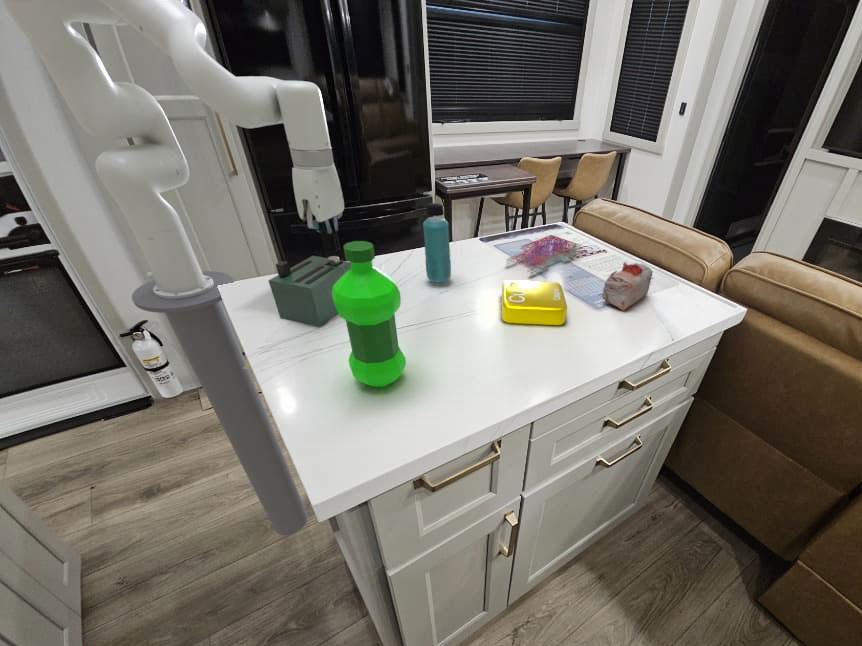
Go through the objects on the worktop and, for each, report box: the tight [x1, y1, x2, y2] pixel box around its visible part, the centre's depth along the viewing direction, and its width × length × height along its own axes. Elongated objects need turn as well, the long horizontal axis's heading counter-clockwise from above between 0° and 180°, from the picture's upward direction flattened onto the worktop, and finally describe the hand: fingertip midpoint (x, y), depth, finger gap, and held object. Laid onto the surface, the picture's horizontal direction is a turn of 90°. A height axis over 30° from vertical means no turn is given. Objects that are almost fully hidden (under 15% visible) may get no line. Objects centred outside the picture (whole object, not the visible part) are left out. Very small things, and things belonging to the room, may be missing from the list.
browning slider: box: [275, 260, 291, 277], centre depth 88 cm, size 2×2×2 cm
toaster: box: [268, 255, 351, 327], centre depth 94 cm, size 10×15×9 cm, turn 166°
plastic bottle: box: [331, 240, 407, 388], centre depth 70 cm, size 10×10×25 cm
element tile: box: [501, 279, 568, 326], centre depth 101 cm, size 15×15×5 cm
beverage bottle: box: [422, 202, 452, 283], centre depth 105 cm, size 6×7×20 cm
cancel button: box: [327, 255, 340, 267], centre depth 95 cm, size 2×2×2 cm
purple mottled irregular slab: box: [505, 234, 583, 278], centre depth 128 cm, size 30×15×5 cm, turn 140°
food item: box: [601, 261, 654, 311], centre depth 107 cm, size 14×8×10 cm, turn 140°
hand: (332, 249), depth 93 cm, fingers closed
